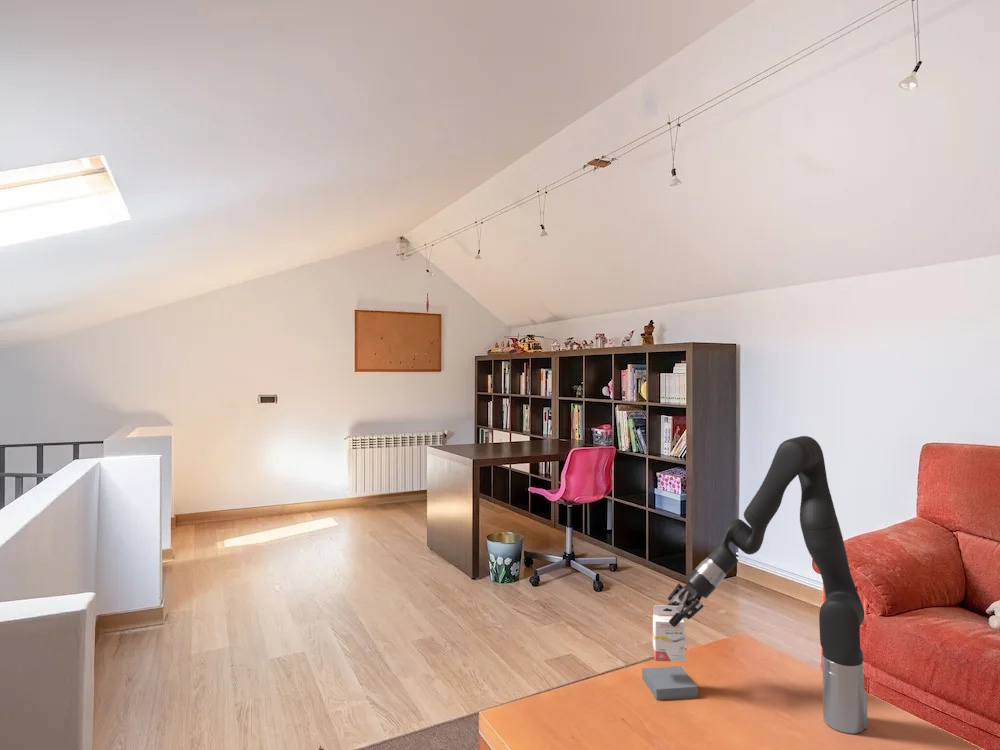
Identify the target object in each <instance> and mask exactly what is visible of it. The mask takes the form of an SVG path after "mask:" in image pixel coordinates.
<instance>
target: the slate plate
mask: <svg viewBox="0 0 1000 750" xmlns="http://www.w3.org/2000/svg"><path fill="white" fill-rule="evenodd" d="M641 672H642V673H641V676H642V680H643V682H644V683H645V685H646V686H647V688H648V689H649V691H650V693H652V695H653V697H654V698H655V699H656V700H657V701H659V700H660V701H662V700H673V699H674V700H675V699H689V698H690V699H691V698H698V694H699V693H698V686H697V684H696V683H695V682H694V681H693V679H692V678H691V677H690V676H689V675H688V673H687V672H686V671H685V670H684V669H683V667H682V666H681V665H677V666H676V665H675V666H662V667H659V666H658V667H647V668H646V667H645V668H641Z"/></svg>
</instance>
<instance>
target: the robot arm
mask: <svg viewBox="0 0 1000 750" xmlns="http://www.w3.org/2000/svg"><path fill="white" fill-rule="evenodd" d="M771 461H772V462H771V464H770V467H769V468H768V471H767V473H766V476H765V477H764V480H763V481H762V482H761V483H762V484H761V485H760V486H759V488H758V490H757V491H756V493H755V494H754V496H753V497H752V500H750V502H749V504H748V505H747V507H746V508H745V510H744V512H743V518H744V519H745V521H746V522H747V523H746V522H745V521H744V520H742V519H741V518H735V519H733V520H731V521H729V522H728V524H727V525H726V527H725V529H724V532H723V535H722V536H721V538H720V540H719V542H718V543H717V545H716V546H715V548H714V549H713V550H712V551H711V552H710V553H709V554H708V555H707V557H705V559H703V560H702V561H701V562H700V563H698V565H697V566H696V567H695V568H694V570H692V571H691V573H690V574H689V575H688V576H687V577H686V580H685V581H686V582H687V583H686V584H685V585H684V586H683V585H681V583H678V584H677V585H676V586H675V588H674V589H672V591H671V593H670V594H669V596H668V597H667V600H668V604H667V605H670V606H681V607H680V609H679V611H678V613H676V614H675V615H674V616H673V617H672V618H671V619H670V620H669V623H670V624H671V625H672V626H673V627H676V625H677V624H678V623H679V622H680V621H681V620H682V619H683V620H684V619H686V620H690V619H691V618H693V617H694V616H695V615H696V614H698V612H699V611H701V610H702V609H703V608H704V605H703V604H702V602H701V600H702V598H704V599H707V598H708V597H709V596H710V595H711V594H712V593H713V592H714V591H715V590H716V588H717V587H718V586H719V585H720V584H721V583H722V582H723V580H724V579H725V577H726V576H727V575H728V574H729V572H731V570H733V569H734V568H735V566H736V565H737V564H738V558H737V557H736V555H735V554H734V553H733V551H732V550H731V549H730V544H731V543H732V544H733V545H734V546H736V547H737V548H738V549H740V550H741V551H742V553H745V554H746V555H754V554H756V553H757V552H758V551H760V549H761V547H762V546H763V545H762V544H763V543H764V539H765V538H764V537H765V534H766V530H767V527H768V525H769V523H770V522H771V521H772V520H773V517H774V516H775V515H776V513H777V512H778V511H779V508H780V506H781V504H782V501H783V497H784V494H785V492H786V489H787V488H788V486H789V485H790V484H791V483H792V481H794V479H795V478H796V477H798V480H799V484H800V491H801V499H800V507H799V508H800V509H799V523H800V529H801V533H802V536H803V539H804V543H805V547H806V548H807V551H808V553H809V555H810V557H811V559H812V560H813V561H814V564H815V566H816V567H817V569H818V571H819V573H820V575H821V579H822V585H823V589H824V594H825V601H824V602H823V603H822V605H821V606H820V608H819V613H818V614H819V615H818V618H819V619H818V621H819V623H818V624H819V641H820V642H819V643H820V646H821V655H822V661H821V662H822V718H823V721H824V723H825V724H826V725H827V726H828V727H830V728H831V729H833V730H835V731H838V732H841V733H845V734H859V733H862V732H863V730H867V729H868V692H867V691H866V690H865V689H864V653H863V652H864V651H863V650H862V648H861V625H862V623H863V622H864V620H865V609H864V605H863V603H862V600H861V597H860V595H859V592H858V590H857V588H856V585H855V582H854V580H853V577H852V573H851V569H850V564H849V559H848V555H847V551H846V546H845V543H844V537H843V533H842V530H841V527H840V524H839V523H840V522H839V520H838V516H837V514H836V509H835V505H834V502H833V497H832V494H831V490H830V487H829V483H828V482H829V481H828V477H827V470H826V464H825V457H824V453H823V449H822V446H821V445H820V443H819V442H818V441H817V440H816V439H815V438H813V437H811V436H808V435H802V436H801V435H800V436H795V437H792V438H789V439H786V440H784V441H783V442H781V443H780V444H779V445H778V448H777V449H776V451H775V454H774V457H773V459H772V460H771ZM662 611H672V609H668V608H666V609H663V610H662Z"/></svg>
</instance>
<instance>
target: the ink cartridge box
mask: <svg viewBox="0 0 1000 750" xmlns="http://www.w3.org/2000/svg"><path fill="white" fill-rule="evenodd" d="M680 607H681V606H670V605H668V604H666V605H665V604H664V605H663V604H662V605H661V604H654V605H653V608H652V609H653V610H652V611H653V614H652V654H653V657H654V660H655V662H656V661H658V662H672V663H673V662H675V663H676V662H677V663H685V662H686V659H685V658H686V653H685V652H686V650H685V648H686V647H685V645H686V643H685V641H686V639H685V638H686V636H685V634H686V633H685V626H686V623H685V621H684V618H683V619H682V620H681V621H680V622H679V623H678V624H677V625H676V627H673V626H672V625H671V624H670V623H669V620H670V619H671V618H672V617H673V616H674V615H675V614H676V613H678V611H679V609H680ZM666 608H668V609H672V611H663V610H664V609H666Z"/></svg>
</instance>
